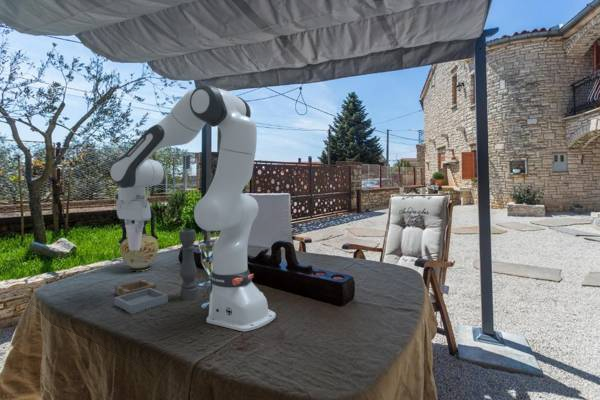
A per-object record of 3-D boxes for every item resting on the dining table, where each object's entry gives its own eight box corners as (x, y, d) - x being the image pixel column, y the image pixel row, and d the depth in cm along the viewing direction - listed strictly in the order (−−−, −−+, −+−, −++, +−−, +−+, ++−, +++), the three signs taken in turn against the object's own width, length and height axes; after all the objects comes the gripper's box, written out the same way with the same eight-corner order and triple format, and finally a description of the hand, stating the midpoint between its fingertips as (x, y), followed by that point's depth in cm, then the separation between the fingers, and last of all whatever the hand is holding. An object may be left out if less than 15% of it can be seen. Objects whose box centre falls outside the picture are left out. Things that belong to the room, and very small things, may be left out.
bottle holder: (156, 291, 126) (156, 284, 126) (127, 300, 118) (127, 292, 117) (143, 286, 133) (142, 279, 133) (115, 294, 124) (114, 286, 124)
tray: (167, 302, 115) (167, 294, 115) (131, 314, 105) (131, 305, 105) (150, 294, 123) (150, 287, 123) (115, 305, 113) (114, 297, 113)
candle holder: (177, 298, 119) (174, 231, 117) (189, 293, 124) (187, 229, 123) (189, 301, 116) (186, 232, 114) (201, 295, 121) (199, 230, 120)
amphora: (154, 263, 170) (152, 207, 168) (164, 269, 157) (161, 209, 156) (116, 269, 159) (113, 209, 157) (124, 277, 146) (121, 211, 144)
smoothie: (147, 248, 125) (147, 212, 125) (137, 251, 118) (136, 213, 118) (132, 247, 126) (132, 212, 125) (121, 250, 119) (120, 213, 119)
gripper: (154, 194, 117) (156, 232, 118) (129, 194, 130) (131, 228, 131) (136, 195, 112) (139, 235, 113) (112, 195, 125) (114, 230, 126)
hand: (134, 231), depth 122 cm, fingers closed on smoothie, 6 cm apart
